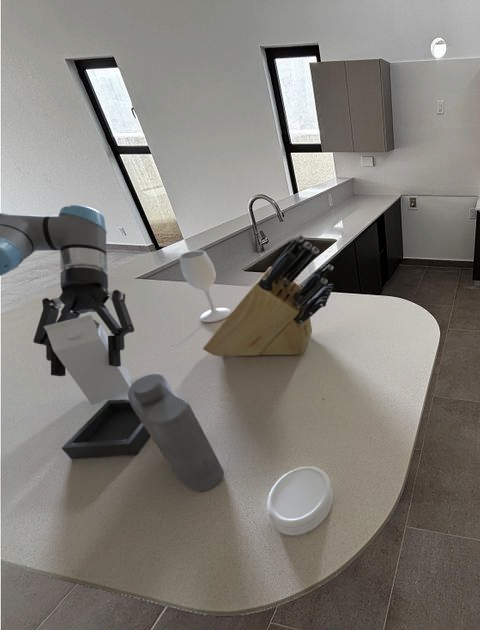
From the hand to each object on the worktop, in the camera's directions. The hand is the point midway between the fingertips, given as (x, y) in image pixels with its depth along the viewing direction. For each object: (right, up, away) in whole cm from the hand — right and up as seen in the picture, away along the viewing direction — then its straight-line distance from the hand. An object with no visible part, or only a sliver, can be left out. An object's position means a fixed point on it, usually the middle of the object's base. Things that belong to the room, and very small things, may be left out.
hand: (87, 370), depth 70 cm
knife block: (+31, +3, +24) cm, 39 cm away
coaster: (+51, -20, -15) cm, 57 cm away
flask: (+29, -16, -8) cm, 34 cm away
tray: (+10, -12, -2) cm, 16 cm away
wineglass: (+5, +11, +37) cm, 39 cm away
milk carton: (-1, -6, +7) cm, 9 cm away
